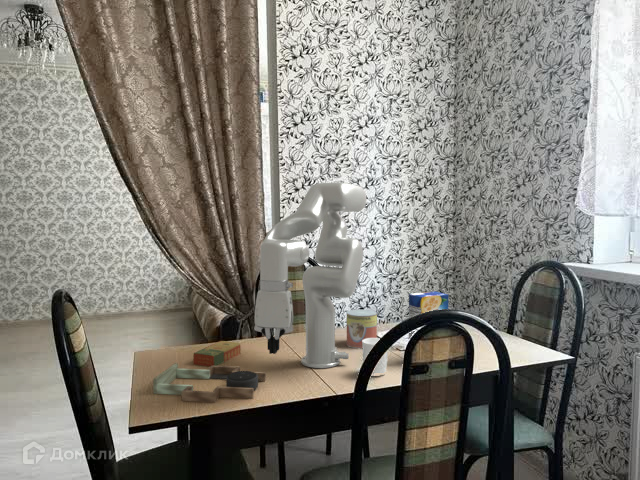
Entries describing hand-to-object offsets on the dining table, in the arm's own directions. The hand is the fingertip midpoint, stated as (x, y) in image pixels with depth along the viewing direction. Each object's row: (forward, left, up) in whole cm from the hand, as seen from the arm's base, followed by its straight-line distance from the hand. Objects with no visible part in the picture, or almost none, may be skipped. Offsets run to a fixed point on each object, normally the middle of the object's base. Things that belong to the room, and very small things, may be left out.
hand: (273, 352), depth 138 cm
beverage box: (-44, -35, -11) cm, 57 cm away
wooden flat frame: (+18, -1, -11) cm, 21 cm away
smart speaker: (+9, -1, -11) cm, 15 cm away
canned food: (-21, -51, -11) cm, 56 cm away
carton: (+26, -27, -11) cm, 39 cm away
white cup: (-27, -19, -11) cm, 35 cm away
